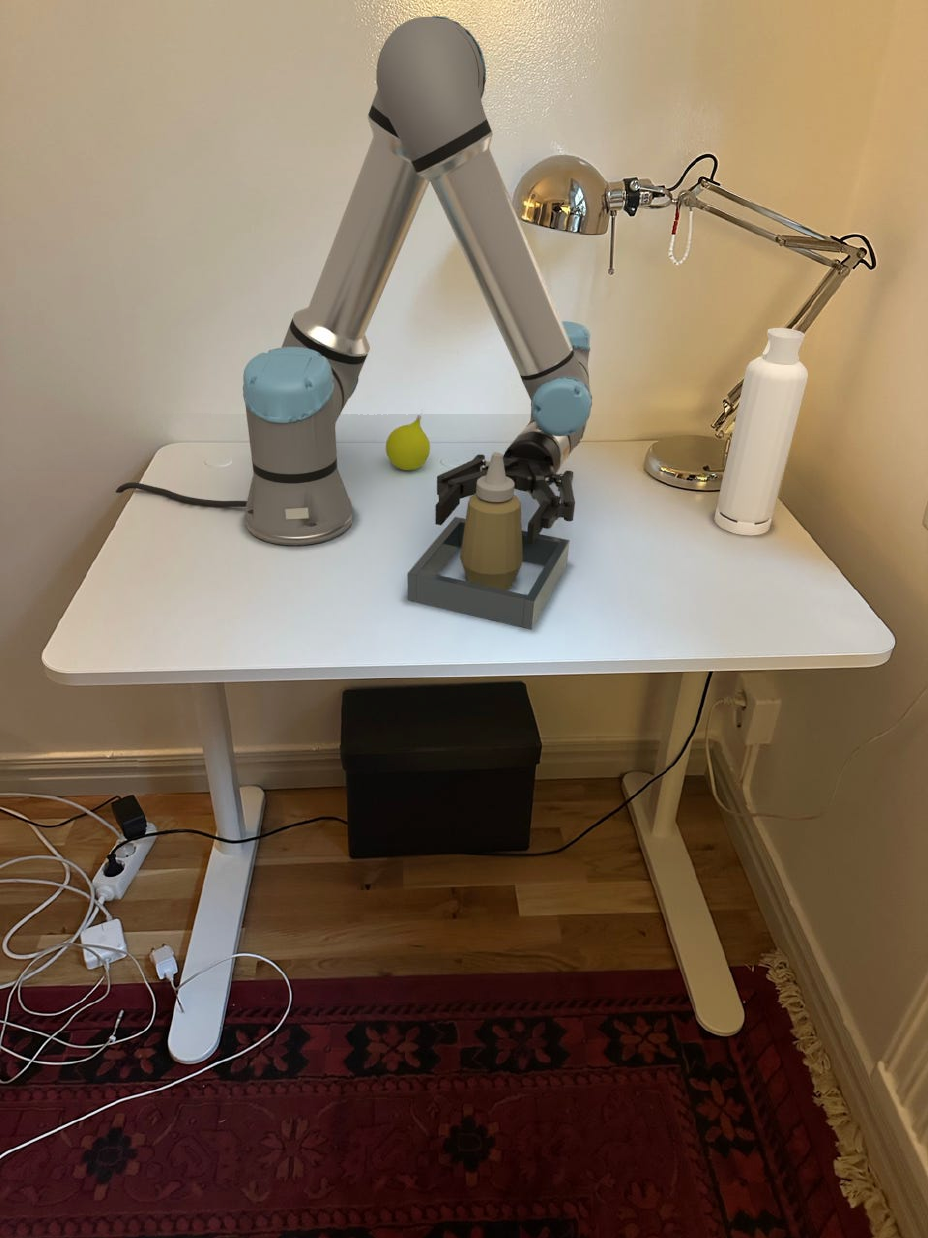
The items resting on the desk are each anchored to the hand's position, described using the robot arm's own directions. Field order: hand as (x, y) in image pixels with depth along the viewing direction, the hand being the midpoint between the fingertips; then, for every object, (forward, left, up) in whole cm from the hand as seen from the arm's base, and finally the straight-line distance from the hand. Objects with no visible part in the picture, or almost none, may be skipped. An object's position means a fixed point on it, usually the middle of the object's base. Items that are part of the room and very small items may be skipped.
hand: (483, 524), depth 106 cm
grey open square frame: (0, +4, -11) cm, 11 cm away
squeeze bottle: (0, +4, -11) cm, 11 cm away
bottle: (+29, +35, -11) cm, 47 cm away
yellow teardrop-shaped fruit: (-24, +32, -11) cm, 41 cm away
